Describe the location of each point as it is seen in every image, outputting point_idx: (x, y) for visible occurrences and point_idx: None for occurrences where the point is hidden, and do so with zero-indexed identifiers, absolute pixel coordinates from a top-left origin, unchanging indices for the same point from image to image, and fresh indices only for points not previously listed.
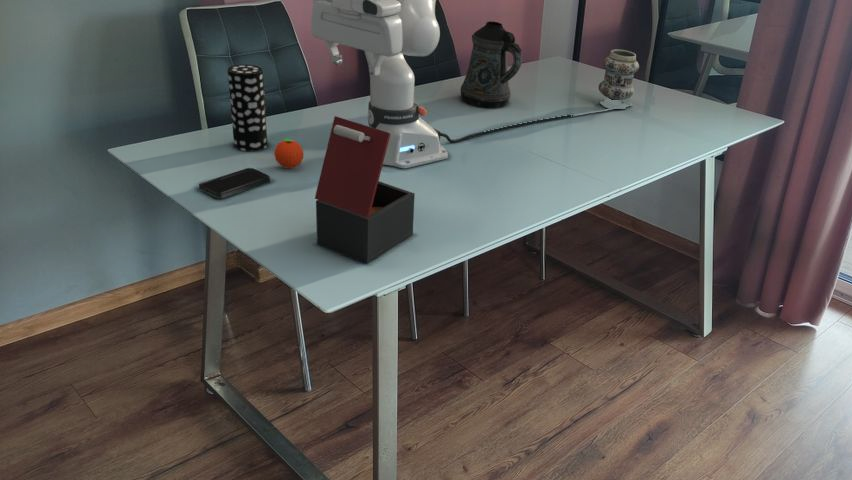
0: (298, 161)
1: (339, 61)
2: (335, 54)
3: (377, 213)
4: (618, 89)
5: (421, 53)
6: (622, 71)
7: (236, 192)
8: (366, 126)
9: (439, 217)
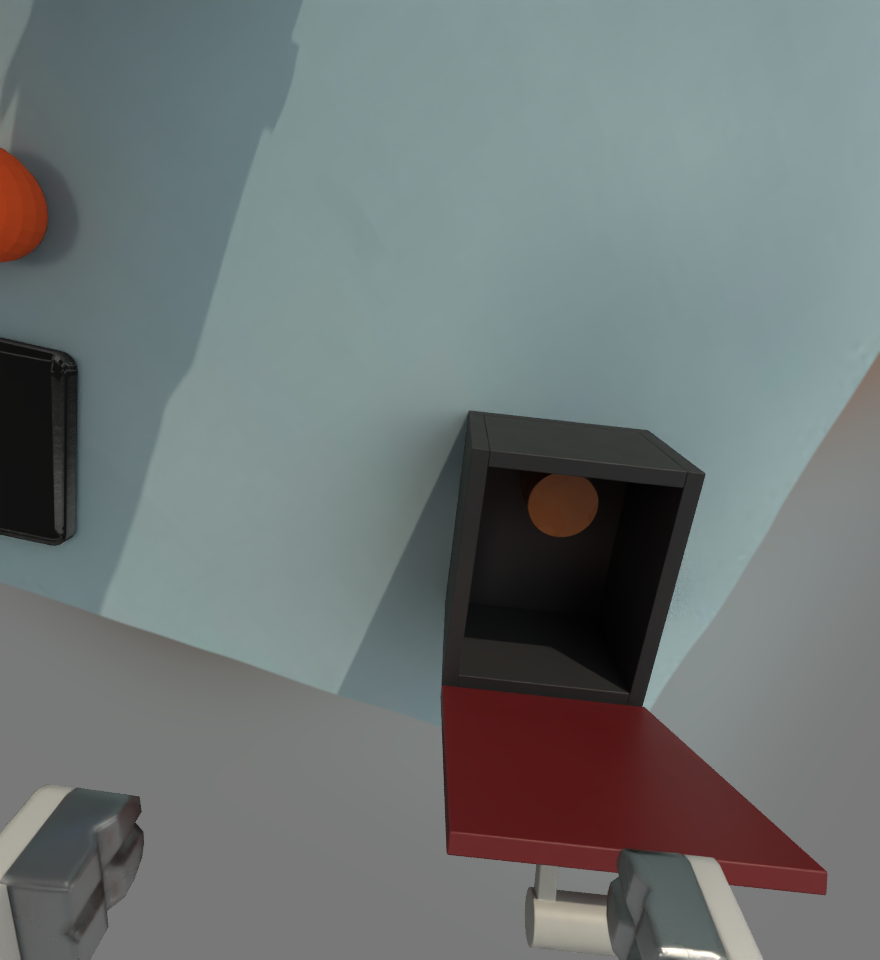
0: (43, 215)
1: (115, 856)
2: (6, 954)
3: (650, 664)
4: None
5: None
6: None
7: (73, 488)
8: None
9: (682, 266)
